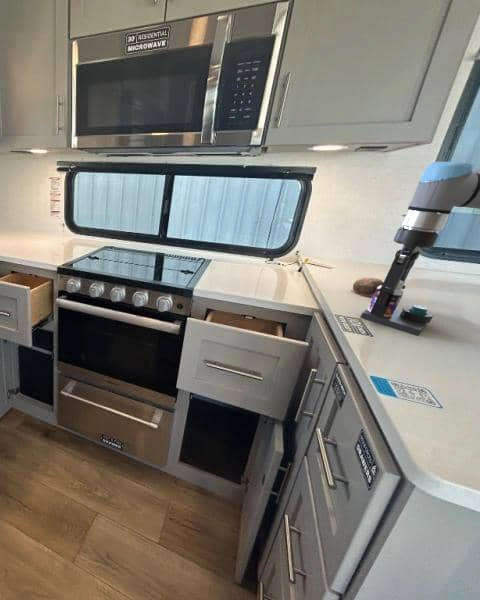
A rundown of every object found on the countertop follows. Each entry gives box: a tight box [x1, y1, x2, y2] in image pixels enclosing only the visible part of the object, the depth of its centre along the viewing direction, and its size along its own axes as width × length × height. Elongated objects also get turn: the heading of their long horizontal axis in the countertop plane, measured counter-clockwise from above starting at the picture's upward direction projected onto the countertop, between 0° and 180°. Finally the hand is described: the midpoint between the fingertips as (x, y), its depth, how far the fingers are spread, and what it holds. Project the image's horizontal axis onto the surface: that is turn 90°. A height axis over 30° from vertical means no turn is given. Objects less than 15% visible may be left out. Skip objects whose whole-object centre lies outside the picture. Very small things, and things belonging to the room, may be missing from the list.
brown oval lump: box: [352, 277, 384, 297], centre depth 109 cm, size 8×8×6 cm
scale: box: [360, 307, 434, 337], centre depth 90 cm, size 12×12×4 cm
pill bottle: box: [367, 280, 406, 317], centre depth 89 cm, size 5×5×10 cm
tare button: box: [410, 304, 429, 315], centre depth 89 cm, size 3×3×2 cm
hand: (380, 311), depth 91 cm, fingers open, 7 cm apart
